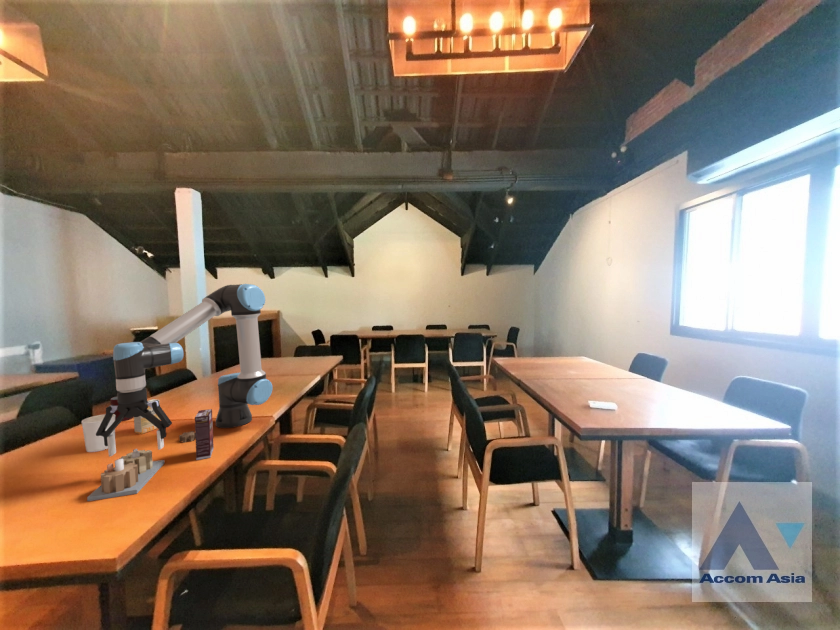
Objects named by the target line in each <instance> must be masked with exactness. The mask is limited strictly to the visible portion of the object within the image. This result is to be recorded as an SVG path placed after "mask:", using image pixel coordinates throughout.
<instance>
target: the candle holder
mask: <svg viewBox="0 0 840 630" xmlns="http://www.w3.org/2000/svg"><path fill="white" fill-rule="evenodd" d="M105 414H106V413H103V414H98V415H97V414H96V415H93V416H90V417H86V418H84V419H82V420H81V426H82V433H83V440H84V445H85V451H86V453H87V452H88V453H96V452H101V451H106V450H108V446H105V445H104V437H103V436H96V432H97V430H98V428H99V426H100V424H101V422H102V420H103V418H104V416H105ZM115 416H116V415H115V414H113V416H112V418H111V420H110V422H109V424H108V426H107V428H106V430H105V431H107V429H108V428H109V427H110V426H111V425H112V424H113V422H114V421H115ZM111 434H115V435H116V428H115V429H114V430H113V432H112V433H111ZM105 449H106V450H105Z"/></svg>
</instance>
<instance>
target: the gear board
mask: <svg viewBox="0 0 840 630" xmlns="http://www.w3.org/2000/svg"><path fill="white" fill-rule="evenodd" d="M132 452H133V453H132V458H137V457H139V456H140V453H139V448H135V449H133V450H132ZM152 462H153V467H152V468H151V469H148V470H146V472H144V473H141V474H139V473H138V466H137V464H136V465H135V463H129V464H127V465H124V461H123V459H119V458H118V459H116V460H114V463H108V464H106V469H105V470H104V472H101V473H100V484H101V485H99V486H98V487H97V488H96V489H95V490H93V491H92V492H91V493H90V494H89V495H88V496H87V497H86V501H87V502H91V501H97V500H98V501H99V500H105V499H111V498H116V497H117V498H119V497H124V496H129V495H137V494H138V493H139V492H140V491H141V490H142V489H143V488H144V486H146V484H147V483H149V481H150V480H151V479H152V477H154V475H155V474H156V473H157V472H158V471H159V470H160V469H161V468H162V467H163V466H164V464H165V459H162V460H161V459H160V460H152Z"/></svg>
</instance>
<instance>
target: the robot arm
mask: <svg viewBox="0 0 840 630" xmlns="http://www.w3.org/2000/svg"><path fill="white" fill-rule="evenodd" d="M265 304H266V296H265V293H264V291H263V290H262V289H261V288H260V287H259V286H258V285H255V284H251V283H250V284H249V283H243V284H241V283H239V284H227V285H224V286H222V287H220V288H218V289H216V290H214V291H213V292H210V293H209V294H208V295H207V296H205V297H204V298H202V300H201V302H200V303H199V304H197V305H195V306H194V307H193V308H191V309H189V310H188V311H186V312H184V313H182V315H180V316H179V317H177V318H175V319H174V320H173V321H171V322H169V323H168V324H166V325H164V326H163V327H161V328H160V329H159V330H157V331H156V332H154V333H152V334H151V335H150V336H147V337H146V338H144V339H142V340H141V341H132V342H122V343H117V344H115V345H114V346H113V352H112V353H113V354H112V356H113V357H112V361H113V365H114V373H115V387H116V388H115V389H116V391H117V393H116V396H117V400H118V406H114V405H111V404H110V405H108V406H107V407H106V408H105V413H104V414H105V416H104V418H103V420H102V422H101V424H100V426H99V428H98V430H97V432H96V436H103V437H104V445H105V446H108V449H107V450H108V457H109V458H111V457H112V456H114V455H115V454H117V448H116V447H117V446H116V445H117V444H116V433H115V434H111V433H112V432H113V430H114V429H115V430H116V428H117V427H118V426H119V425H120V423H121V422H123V421H122V420H123V419H124V418H125V417H126V418H131V417H133V418H134V417H139V416H141V417H143V418H145V419H147V420H148V421H149V422H150V423H152V424H153V425H154V426H156V427H157V428H158V429H156V439H157V440H156V441H157V450H158V451H159V450H162V449H163V448H164V447H165V442H164V441H165V440H164V439H165V438H166V437H167V428H169V427H170V426H172V425H173V422H172V421H171V419H170V418H169V416H168V415H167V413H166V412H165V411H164V410H163V408H162V406H161V405H160V404H161V403H160V400H159V399H156V401H154V402H148V391H147V388H146V386H147V382H146V381H147V380H146V369H147V370H148V369H151V368H156V367H163V366H167V365H168V366H169V365H174V364H178V363H180V362H182V361H183V359H184V356H185V355H184V349H183V347H182V345H181V344H180V343H178V342H179V341H181V340H183V338H185V337H186V336H188V335H189V334H191V333H192V332H194V331H195V330H197V329H198V328H199V327H201V326H203V325H204V324H205V323H207V322H208V321H209V320H211V319H212V318H213V317H219V316H221V315H222V314H223V313H227V312H230V313H231V317H233V319H235V323H236V324H235V325H236V334H237V335H236V336H237V347H238V357H239V369H240V371H239V372H234V373H229V374H224V375H221V376H219V377H218V379H217V391H218V407H219V408H218V412H217V416H216V418H215V427H217V428H221V429H229V428H237V427H240V426H244V425H246V424H249V423H250V422H252V420H253V414H252V412H251V410H250V407H249V405H251V406H259V405H263V404H265V403H266V402H267V401H268V400H269V399H270V397H271V395H272V393H273V384H272V381H270V380H269V379H267V373H266V371H265V370H263V368H262V355H261V344H260V334H259V333H260V332H259V322H258V318H259V316H260V315H261V314H262V313H261V309H263V308H264V306H265ZM158 400H159V401H158ZM159 403H160V404H159ZM148 406H150V407H151V408H153V410H154V412H155V413H156V415H157V416H158V417H159V419H160V420H159V419H158V418H157V417H155V416H154V415H153V414H152V413H151V412H150V411H149V410H148V409H147V408H148ZM116 410H118V411H119V412H120V413H121V414H120V415H119V416H118V417H117V419H116V420H115V421H114V422H113V424H112V425H111V426H110V427H109V428H108V429H107V431H105V430H106V428H107V426H108V424H109V422H110V420H111V418H112V416H113V414H114V412H115V411H116Z"/></svg>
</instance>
